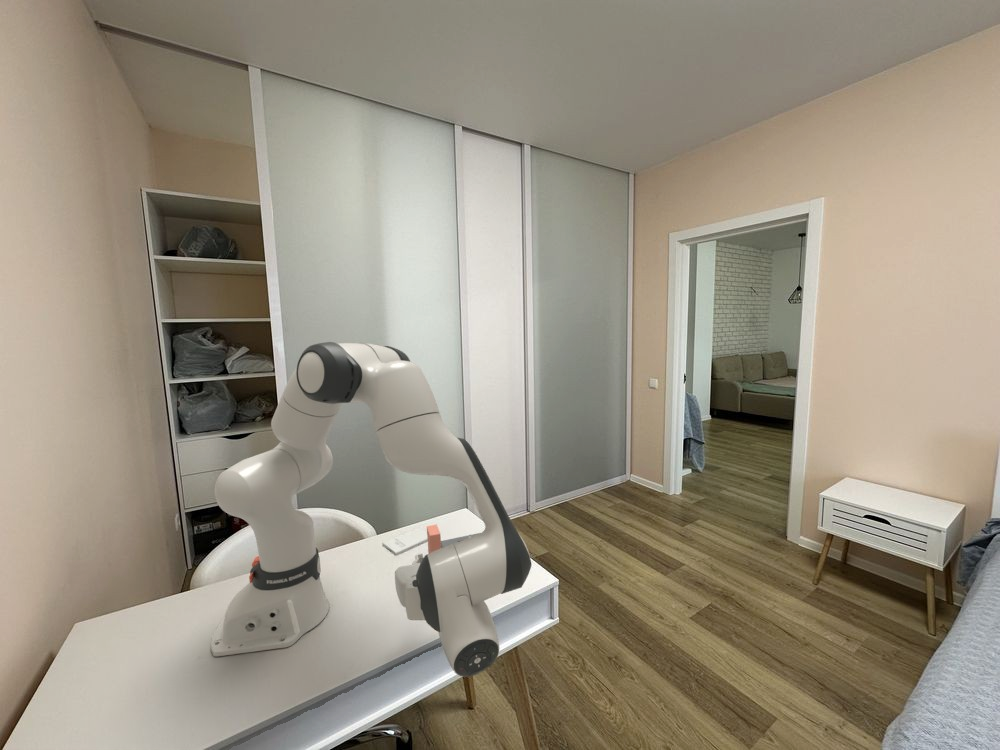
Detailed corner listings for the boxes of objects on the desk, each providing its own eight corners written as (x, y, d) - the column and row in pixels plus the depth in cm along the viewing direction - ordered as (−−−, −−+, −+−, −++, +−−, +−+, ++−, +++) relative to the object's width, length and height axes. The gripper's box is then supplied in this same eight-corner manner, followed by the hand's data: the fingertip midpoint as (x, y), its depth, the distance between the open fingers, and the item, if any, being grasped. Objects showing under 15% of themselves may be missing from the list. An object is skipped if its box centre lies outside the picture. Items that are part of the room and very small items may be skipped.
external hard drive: (432, 540, 122) (396, 557, 113) (418, 531, 128) (382, 547, 119) (432, 535, 122) (395, 552, 113) (418, 527, 128) (382, 542, 119)
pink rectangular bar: (433, 590, 96) (429, 535, 95) (430, 578, 101) (426, 526, 100) (443, 588, 97) (440, 533, 96) (439, 576, 102) (436, 524, 100)
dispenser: (448, 568, 106) (447, 557, 106) (441, 549, 116) (440, 539, 115) (491, 558, 110) (490, 548, 110) (481, 541, 119) (480, 531, 119)
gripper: (507, 565, 76) (486, 531, 89) (397, 589, 70) (392, 548, 83) (508, 596, 77) (487, 557, 90) (399, 622, 71) (393, 576, 84)
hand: (440, 553), depth 86 cm, fingers open, 8 cm apart
